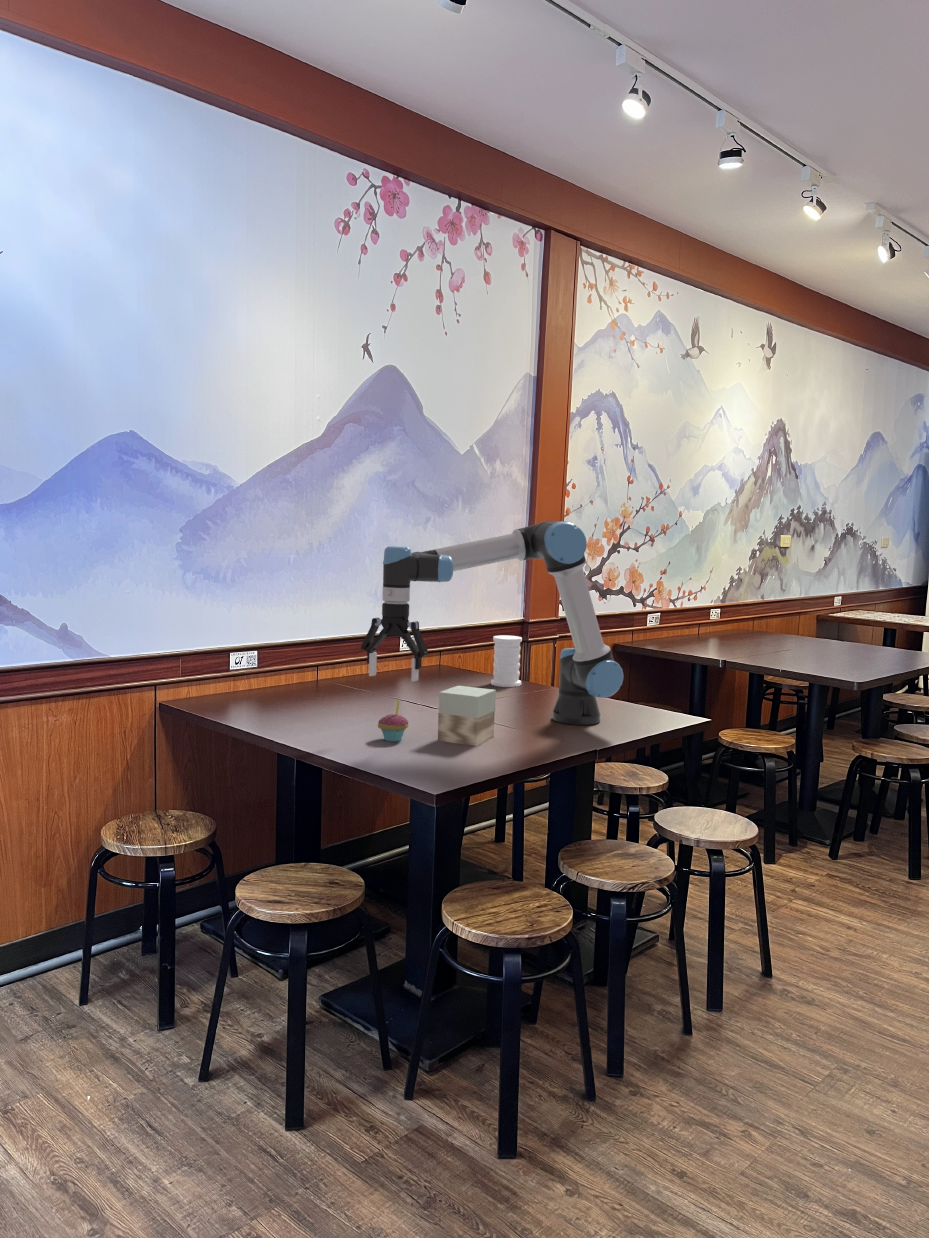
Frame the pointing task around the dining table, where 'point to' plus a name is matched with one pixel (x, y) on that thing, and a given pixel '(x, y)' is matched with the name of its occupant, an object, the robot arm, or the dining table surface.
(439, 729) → the tower base
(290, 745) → the dining table surface
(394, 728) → the cupcake
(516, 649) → the decorative container
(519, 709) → the dining table surface
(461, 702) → the tower top
